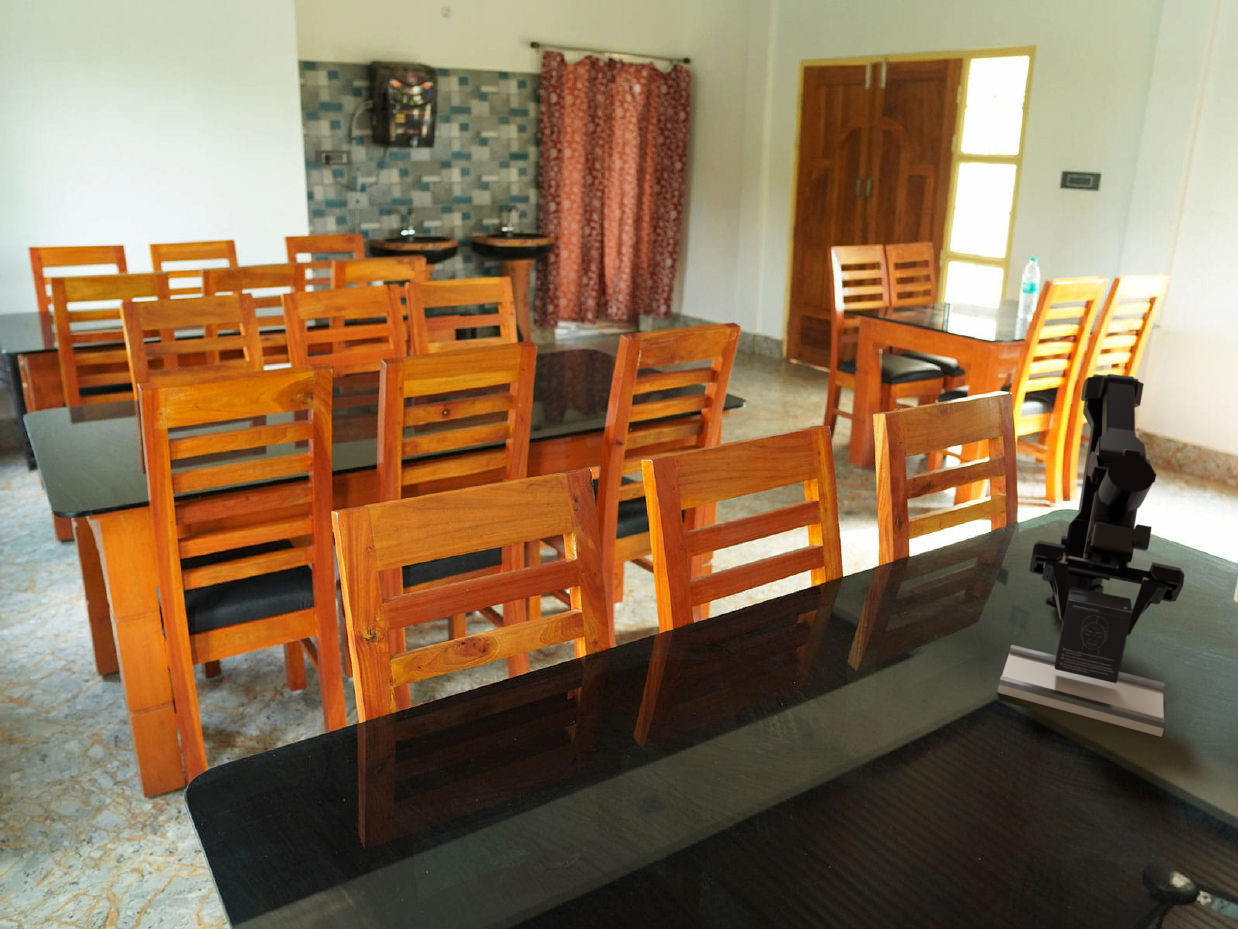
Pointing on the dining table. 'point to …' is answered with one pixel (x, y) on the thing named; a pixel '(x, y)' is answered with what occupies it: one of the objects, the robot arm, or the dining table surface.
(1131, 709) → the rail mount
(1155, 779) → the dining table surface
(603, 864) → the dining table surface
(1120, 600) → the box
